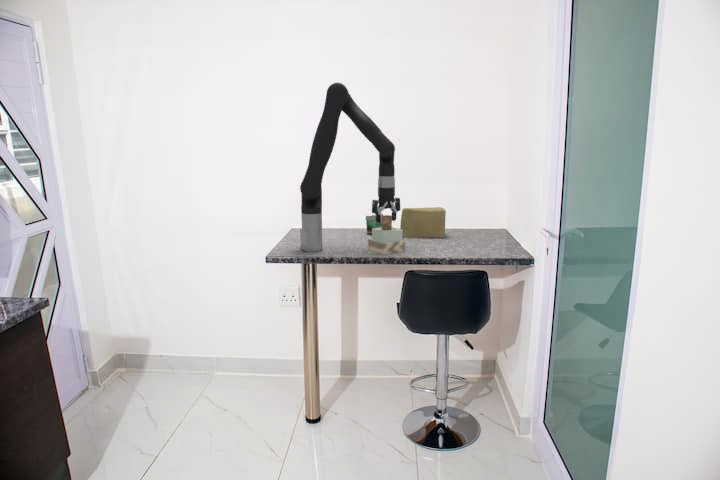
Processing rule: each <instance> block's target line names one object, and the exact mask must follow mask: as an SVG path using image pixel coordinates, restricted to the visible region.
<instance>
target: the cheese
mask: <svg viewBox="0 0 720 480" xmlns="http://www.w3.org/2000/svg"><path fill="white" fill-rule="evenodd" d="M446 212H447V211H446V209H445V208H443V207H441V206H439V207H438V206H437V207H436V206H435V207H432V206H431V207H404V208H402V210H401V215H400V216H401V217H400V225H399V226H400V228H399V229H400V230H403V232H402V238H409V239H410V238H416V239H418V238H420V239H421V238H422V239H423V238H425V239H427V238H429V239H430V238H431V239H445V236H446V235H445V234H446V215H447V214H446Z"/></svg>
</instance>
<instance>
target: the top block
mask: <svg viewBox="0 0 720 480" xmlns="http://www.w3.org/2000/svg"><path fill="white" fill-rule="evenodd" d="M402 232H403V230H400V228H397V227H394V226H392V230H382V227H381V228H373V229H372V235H371V239H373V240H375V241H378V242H381V243H391V242H398V241H402V240H403V237H402Z"/></svg>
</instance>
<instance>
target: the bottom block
mask: <svg viewBox="0 0 720 480" xmlns="http://www.w3.org/2000/svg"><path fill="white" fill-rule="evenodd" d="M367 241H368V242H367V243H368V247H367V249H368V250H369V251H373V252H375V253H377V254H381V255H383V256H384V255H390V254H395V253H399V252H400V253H401V252H405V251H406V240H403V239H402V241H398V242H391V243H381V242H378V241H375V240H373V239H372V238H369V239H368V240H367Z"/></svg>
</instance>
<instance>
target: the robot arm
mask: <svg viewBox="0 0 720 480" xmlns="http://www.w3.org/2000/svg"><path fill="white" fill-rule="evenodd" d="M325 95H326V96H325V101H324V106H323V111H322V114H321V117H320V120H319V122H318V124H317V128H316V132H315V134H314V137H313V141H312V145H311V148H310V152H309V153H310V154H309V160H308V165H307V167H306V168H307V169H306V172H305V175H304V177H303V178H302V180H301V181H302V182H301V184H300V187H299V188H300V193H301V194H300V195H301V206H300V208H301V209H300V210H301V211H300V212H301V213H300V214H301V228H300V230H299V232H300V233H299V235H300V237H299V238H300V250H302V251H303V252H307V253H308V252H310V253H313V252H319V251H323V246H324V245H323V213H322V212H323V210H322V209H323V189H322V188H323V185H322V184H323V183H322V182H323V178H324V177H323V176H324V173H325V171H326V167H327V165H328V162H329V160H330V158H331V156H332V152H333V150H334V147H335V144H336V140H337V135H338V131H339V130H338V128H339V120H340V116H341V114H342V112H343V113H344V114H345V115H346V116H347V117H348V118H349V119H350V120H351V121H352V123H353V124H354V126H355V127H356V128H357V130H358V131H359V132H360V133H361V134H362V135H363V136H364V138H366V140H368V141H369V142H370V143H371V144H372V145H373V147H374V148H375V149H376V151H377V152H378V158H379V159H378V160H379V164H378V180H377V187H378V188H377V193H378V194H377V196H378V199H372V201H371V204H372V205H371V213H372V214H374V215H376V222H377V223H380V222H381V215H380V214H381V213H382V212H383V211H385V210H386V209H390V211H391V216H392V222H395V221H396V220H397V212H400V211H401V198H400V197H395V194H396V192H395V191H396V178H395V152H396V151H395V150H396V147H395V144H394V143H393V142H392V141H391V140H390V139H389V138H388V137H387V136H386V135H385V134H384V133H383V131H382V130H381V128H380V127H379V126H378V125H377V124H376V122H374V121H373V120H372V118H370V117H369V115H368V114H366V113H365V111H363V110H362V109H361V108H360V107H359V105H358V104H357V103H356V102H355V100H354V99H353V98H352V96H351V94H350V92H349V90H348V88H347V87H346V85H344V84H343V83H342V82H333V83H331V84H330V85H329V86H328V87H327V90H326V94H325Z"/></svg>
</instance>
